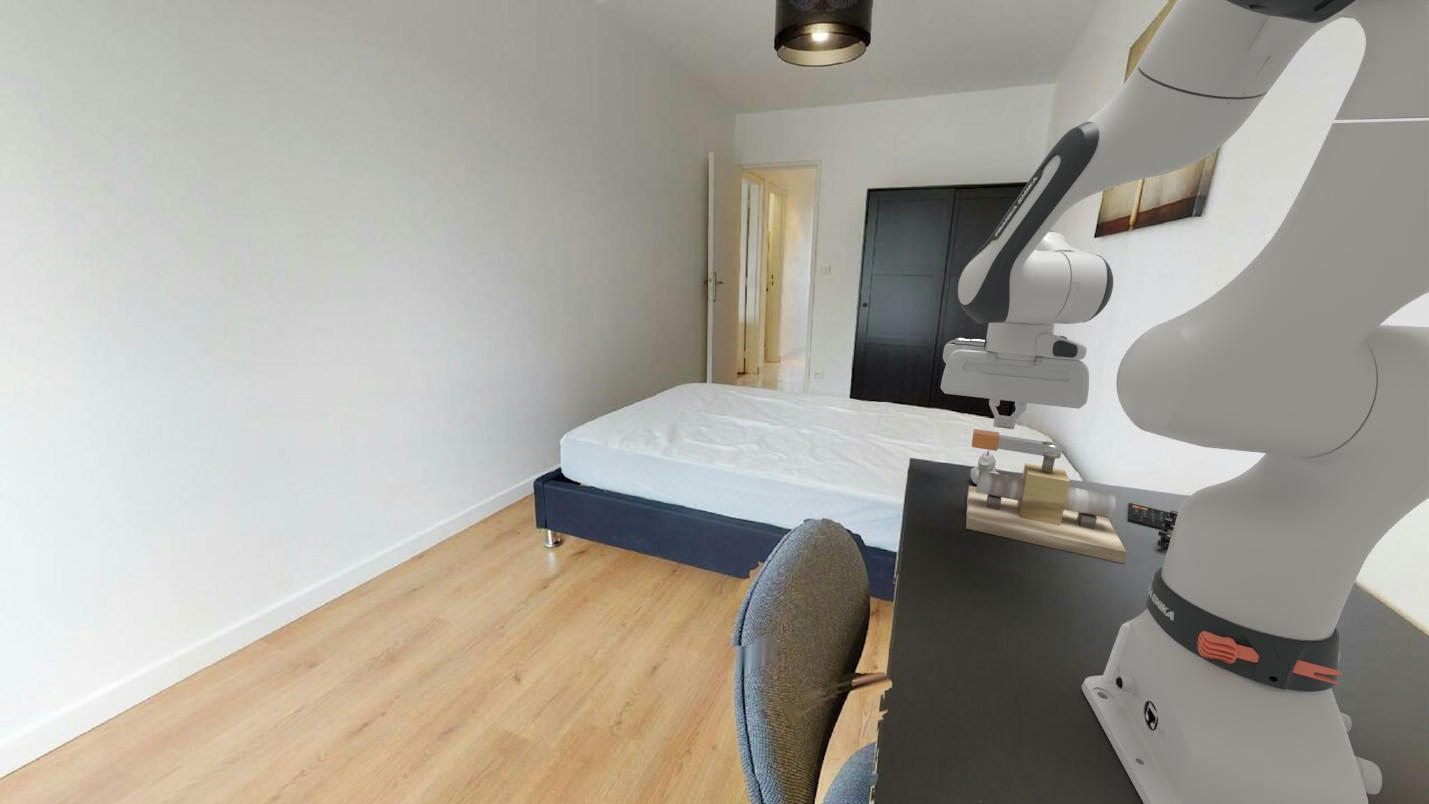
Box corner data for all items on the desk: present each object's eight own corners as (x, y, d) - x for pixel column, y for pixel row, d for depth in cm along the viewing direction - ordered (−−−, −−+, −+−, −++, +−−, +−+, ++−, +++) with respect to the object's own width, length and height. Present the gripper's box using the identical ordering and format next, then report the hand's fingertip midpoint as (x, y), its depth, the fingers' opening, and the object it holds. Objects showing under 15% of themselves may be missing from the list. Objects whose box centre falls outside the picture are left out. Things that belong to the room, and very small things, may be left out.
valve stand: (1123, 563, 79) (1143, 486, 76) (966, 528, 88) (978, 458, 85) (1101, 521, 93) (1117, 455, 90) (967, 495, 102) (977, 434, 99)
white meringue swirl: (963, 484, 108) (969, 448, 106) (976, 477, 112) (982, 442, 110) (991, 492, 104) (997, 455, 102) (1003, 485, 108) (1010, 449, 106)
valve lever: (1058, 456, 88) (1061, 441, 88) (1061, 461, 86) (1064, 446, 85) (971, 442, 94) (974, 428, 93) (971, 447, 91) (974, 433, 91)
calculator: (1127, 506, 101) (1131, 492, 100) (1208, 526, 94) (1212, 511, 93) (1127, 523, 94) (1131, 507, 93) (1214, 545, 87) (1219, 529, 86)
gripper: (944, 337, 82) (932, 421, 85) (1100, 349, 73) (1081, 442, 76) (946, 335, 88) (935, 414, 90) (1091, 345, 79) (1074, 432, 82)
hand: (1003, 427), depth 83 cm, fingers closed
